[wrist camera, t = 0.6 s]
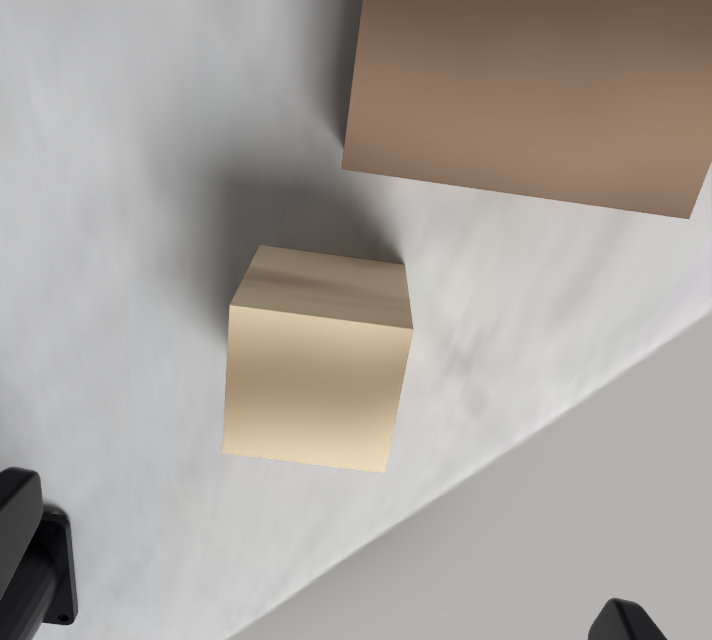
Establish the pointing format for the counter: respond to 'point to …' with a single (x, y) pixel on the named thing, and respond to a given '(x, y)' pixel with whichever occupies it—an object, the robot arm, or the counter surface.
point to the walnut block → (538, 98)
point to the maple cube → (316, 359)
